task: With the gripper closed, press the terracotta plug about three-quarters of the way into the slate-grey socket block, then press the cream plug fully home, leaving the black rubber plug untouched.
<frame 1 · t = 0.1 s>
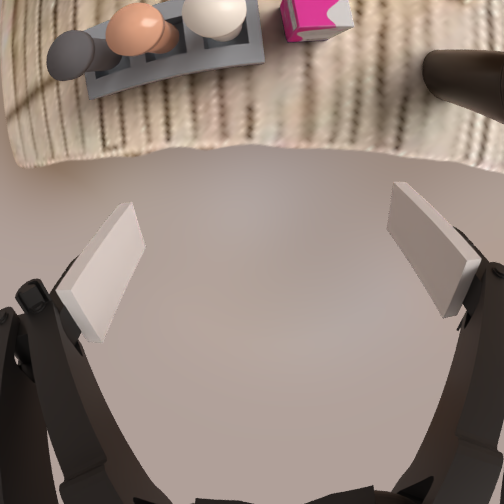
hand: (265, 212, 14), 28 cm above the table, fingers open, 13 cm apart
black plug: (89, 54, 21), point 11 cm above the table, slide at 0.0 cm
terracotta plug: (149, 33, 21), point 11 cm above the table, slide at 0.0 cm
supplement box: (303, 22, 29), on the table
water bottle: (442, 74, 31), on the table
cream plug: (219, 18, 21), point 11 cm above the table, slide at 0.0 cm
socket block: (175, 43, 30), on the table
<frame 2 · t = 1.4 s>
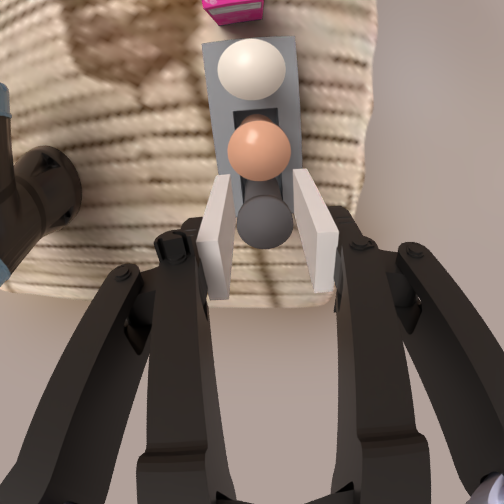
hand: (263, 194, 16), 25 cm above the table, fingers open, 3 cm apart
black plug: (263, 204, 31), point 11 cm above the table, slide at 0.0 cm
terracotta plug: (258, 139, 27), point 11 cm above the table, slide at 0.0 cm
supplement box: (236, 5, 26), on the table
cream plug: (251, 70, 23), point 11 cm above the table, slide at 0.0 cm
socket block: (256, 122, 36), on the table
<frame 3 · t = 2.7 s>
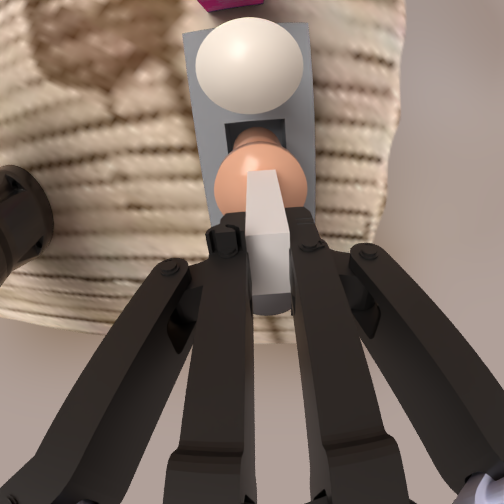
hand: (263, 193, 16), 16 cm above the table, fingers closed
black plug: (265, 250, 24), point 11 cm above the table, slide at 0.0 cm
terracotta plug: (258, 165, 20), point 11 cm above the table, slide at 0.3 cm, touching gripper
cream plug: (249, 67, 16), point 11 cm above the table, slide at 0.0 cm
socket block: (255, 134, 29), on the table
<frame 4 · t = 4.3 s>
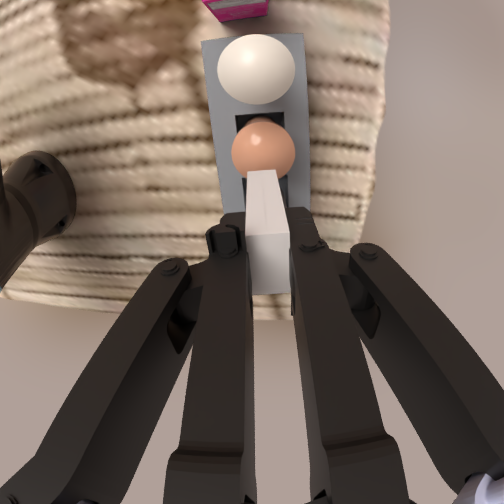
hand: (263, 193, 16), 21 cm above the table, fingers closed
black plug: (268, 218, 28), point 11 cm above the table, slide at 0.0 cm
terracotta plug: (261, 141, 27), point 8 cm above the table, slide at 2.8 cm
supplement box: (239, 0, 24), on the table
cream plug: (255, 70, 20), point 11 cm above the table, slide at 0.0 cm
socket block: (260, 126, 33), on the table
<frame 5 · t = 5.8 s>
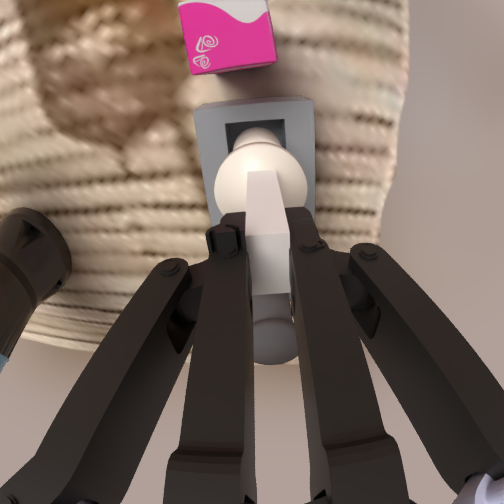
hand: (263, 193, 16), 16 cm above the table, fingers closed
black plug: (269, 310, 28), point 11 cm above the table, slide at 0.0 cm
supplement box: (236, 44, 23), on the table
cream plug: (258, 166, 20), point 11 cm above the table, slide at 0.1 cm, touching gripper
socket block: (261, 194, 33), on the table
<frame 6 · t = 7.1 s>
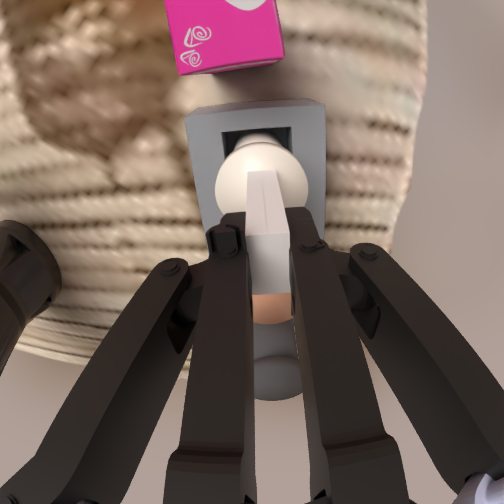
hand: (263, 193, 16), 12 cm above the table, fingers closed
black plug: (272, 341, 25), point 11 cm above the table, slide at 0.0 cm
terracotta plug: (266, 257, 23), point 8 cm above the table, slide at 2.8 cm
supplement box: (235, 40, 20), on the table
cream plug: (259, 166, 20), point 7 cm above the table, slide at 3.9 cm, touching gripper
socket block: (262, 209, 30), on the table
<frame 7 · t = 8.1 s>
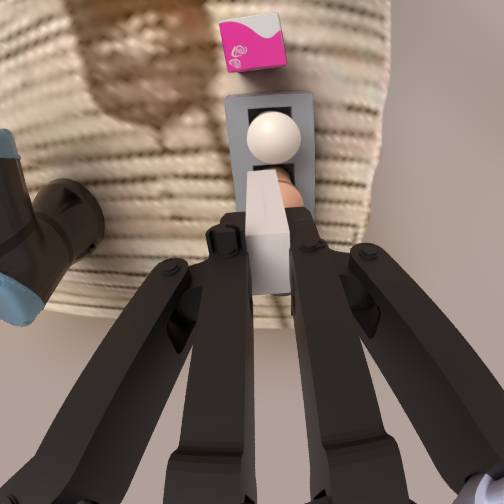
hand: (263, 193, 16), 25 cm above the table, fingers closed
black plug: (279, 253, 35), point 11 cm above the table, slide at 0.0 cm
terracotta plug: (275, 190, 33), point 8 cm above the table, slide at 2.8 cm
supplement box: (255, 50, 31), on the table
cream plug: (271, 130, 30), point 7 cm above the table, slide at 3.9 cm
socket block: (272, 168, 40), on the table
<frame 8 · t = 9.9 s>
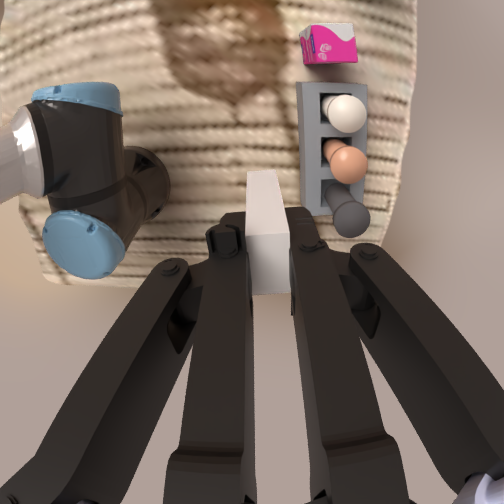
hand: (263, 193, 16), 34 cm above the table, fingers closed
black plug: (343, 206, 42), point 11 cm above the table, slide at 0.0 cm
terracotta plug: (340, 156, 40), point 8 cm above the table, slide at 2.8 cm
supplement box: (317, 48, 37), on the table
cream plug: (338, 109, 37), point 7 cm above the table, slide at 3.9 cm
socket block: (327, 143, 47), on the table
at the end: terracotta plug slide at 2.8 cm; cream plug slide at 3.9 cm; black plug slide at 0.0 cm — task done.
